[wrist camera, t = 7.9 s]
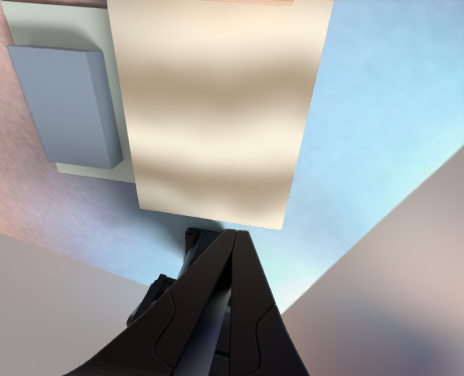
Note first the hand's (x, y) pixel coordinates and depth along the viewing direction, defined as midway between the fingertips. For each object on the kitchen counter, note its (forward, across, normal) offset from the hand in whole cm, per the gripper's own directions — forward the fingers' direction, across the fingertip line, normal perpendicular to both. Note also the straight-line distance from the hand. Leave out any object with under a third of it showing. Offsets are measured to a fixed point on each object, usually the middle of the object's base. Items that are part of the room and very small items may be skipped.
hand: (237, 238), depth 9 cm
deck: (+13, +3, -4) cm, 14 cm away
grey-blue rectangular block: (+10, +15, -1) cm, 19 cm away
